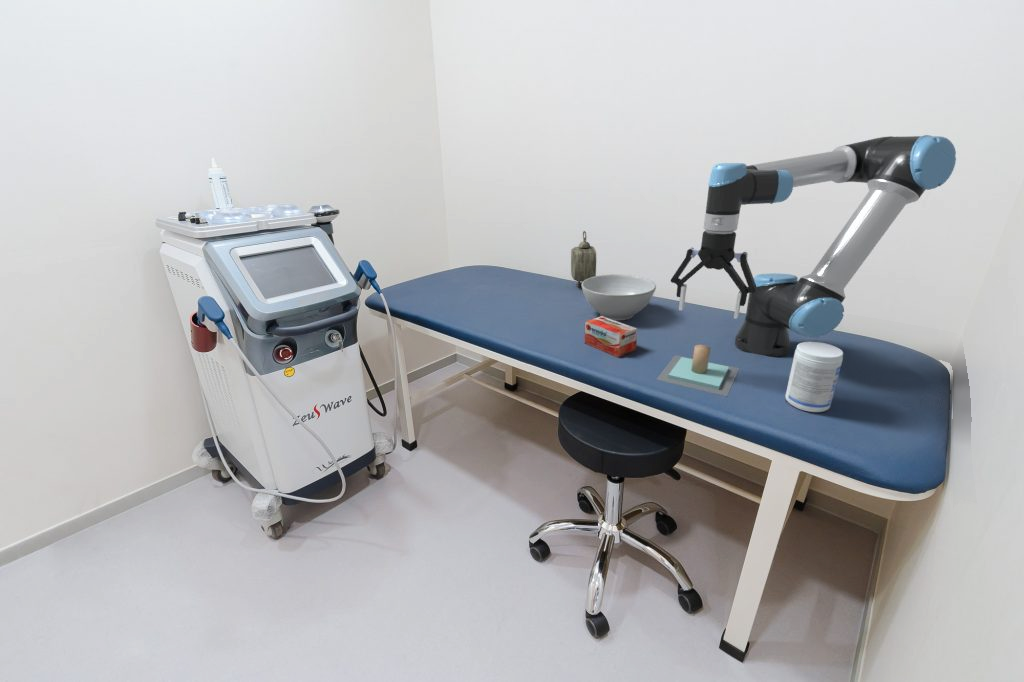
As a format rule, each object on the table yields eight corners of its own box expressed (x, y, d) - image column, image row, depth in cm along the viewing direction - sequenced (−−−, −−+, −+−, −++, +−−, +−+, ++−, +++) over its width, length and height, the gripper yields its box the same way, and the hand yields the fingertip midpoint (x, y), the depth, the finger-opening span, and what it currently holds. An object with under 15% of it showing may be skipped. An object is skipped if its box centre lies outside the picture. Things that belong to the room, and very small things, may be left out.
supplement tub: (837, 415, 108) (853, 358, 103) (793, 412, 110) (806, 357, 104) (818, 394, 117) (832, 341, 111) (778, 392, 119) (790, 340, 113)
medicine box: (636, 351, 145) (638, 327, 142) (619, 358, 140) (620, 334, 137) (600, 337, 156) (601, 315, 153) (583, 343, 152) (583, 321, 148)
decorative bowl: (646, 303, 186) (649, 274, 181) (659, 328, 161) (662, 295, 156) (579, 303, 188) (580, 274, 184) (582, 327, 164) (583, 295, 159)
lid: (681, 359, 137) (684, 335, 133) (728, 369, 130) (732, 343, 127) (668, 377, 127) (671, 351, 124) (718, 389, 120) (723, 362, 117)
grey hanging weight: (595, 291, 203) (597, 233, 193) (574, 292, 203) (575, 234, 193) (589, 282, 216) (591, 227, 206) (570, 282, 216) (571, 228, 206)
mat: (674, 356, 140) (674, 355, 140) (739, 369, 131) (739, 368, 131) (656, 381, 126) (656, 379, 126) (726, 398, 117) (727, 396, 117)
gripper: (663, 230, 116) (656, 309, 125) (775, 237, 103) (758, 325, 112) (672, 225, 122) (664, 301, 130) (779, 231, 109) (762, 316, 117)
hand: (707, 313), depth 121 cm, fingers open, 13 cm apart
